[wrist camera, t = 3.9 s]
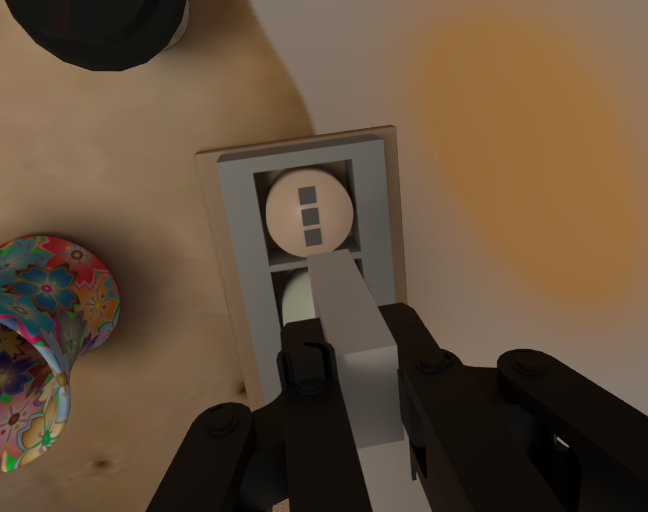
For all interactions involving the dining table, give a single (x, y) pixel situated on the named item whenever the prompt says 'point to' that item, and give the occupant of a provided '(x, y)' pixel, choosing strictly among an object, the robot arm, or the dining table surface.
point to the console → (275, 263)
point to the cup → (392, 478)
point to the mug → (46, 337)
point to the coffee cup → (103, 29)
